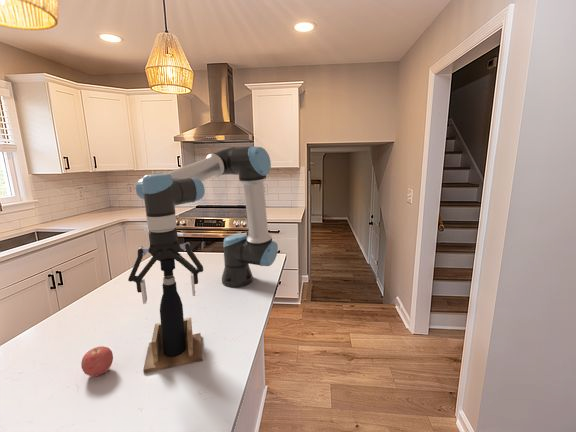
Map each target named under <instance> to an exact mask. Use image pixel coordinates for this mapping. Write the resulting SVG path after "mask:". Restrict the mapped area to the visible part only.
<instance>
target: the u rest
mask: <svg viewBox="0 0 576 432" xmlns="http://www.w3.org/2000/svg"><path fill="white" fill-rule="evenodd" d="M192 324H193V322H192V317H188V318H187V317H186V318H184V332H185V346H186V348H185V351H184V352H183V353H182V354H180V355H178V356H175V357H167V356H165V355H164V352H163V341H162V330H161V322H158V323H156V322H155V323H154V327H153V333H152V336H151V341H150V342H149V343H148V346H147V351H146V356H145V360H144V365H143V370H142V371H143V374H148V373H153V372H156V371H161V370H165V369H166V370H167V369H171V368H174V367H175V368H177V367H178V366H185V365H189V364H194V363H198V362H202V361H203V352H202V351H203V350H202V348H203V347H202V335H201V334H202V333H201V332H199V333H193V325H192Z"/></svg>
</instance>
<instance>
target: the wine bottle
mask: <svg viewBox="0 0 576 432" xmlns="http://www.w3.org/2000/svg"><path fill="white" fill-rule="evenodd" d="M175 261H176V260H175V259H171V260H161V262H160V261H159V263H160V270H161V271H162V272H163V279H162V296H161V298H160V299H161V300H160V303H159V317H160V318H159V319H160V323H161V330H162V341H163V352H164V355H165V356H167V357H175V356H178V355H180V354H182V353H183V352H184V351H185V348H186V346H185V332H184V319H185V318H184V307H183V306H184V305H183V302H182V299H181V297H180V295H179V292H178V289H177V282H176V277H175V276H174V270H175V269H176V263H175Z"/></svg>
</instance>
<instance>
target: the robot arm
mask: <svg viewBox="0 0 576 432" xmlns="http://www.w3.org/2000/svg"><path fill="white" fill-rule="evenodd" d="M271 163H272V162H271V158H270V154H269V153H268V151H267V150H266V149H265V148H263V147H262V146H255V145H254V146H253V145H252V146H233V147H228V148H223V149H221V150H218V151H216V152H212V153H209V154H208V155H207V156H206V157H205V158H204V159H201V160H199V161H196V162H193V163H190V164H188V165H185V166H181V167H179V168H177V169H174V170H171V171H169V172H165V173H155V174H151V173H150V174H145V175H144V176H143V177H142V178H140V179H139V180H138V181H137V182H136V184H135V192H136V194H137V195H136V196H138V198H140V199H141V200H143V201H144V207H145V214H146V215H145V216H146V217H145V218H146V225H147V229H148V230H149V231H148V233H147V234H148V239H149V240H148V241H149V247H144V246H139V248H138V250H137V258H136V261H135V262H134V265H133V266H132V270H131V272H130V274H129V276H128V279H127V280H128V282H134V283H136V285H135V286H136V292H137V293H138V294H139V293H141V297H142V304H143V305H145V304H147V301H148V296H147V295H148V294H147V288H146V286H147V285H146V280H145V278H144V277H145V276H146V274H147V273H148V272H149V271H150V269H151V268H152V267H153V265H154V264H155V263H156V262H157V261H158V262H159V263H160V262H161V260H171V259H175V261H176V262H178V263H180V264H181V266H183V267H184V268H185V269H186V270H188V271H189V272H190V280H191V283H190V284H191V292H192V293H191V294H192V297H196V289H195V288H196V287H195V285H198V284H199V276H198V275H199V274H200V273H203V272H204V266H203V264H202V263H201V261H200V260H199V259H198V257H197V255H196V254H195V252H193V250H192V248H191V243H190V242H189V241H186V242H185V243H181V244H180V243H179V238H178V229H177V228H176V227H177V216H176V206H179V205H184V204H189V203H195V202H198V201H200V200H202V199H203V197H204V195H205V189H206V188H205V185H204V183H203V181H207V180H208V179H211V178H212V177H215V178H216V177H217V178H218V177H220V176H224V175H225V176H226V175H237V176H238V178H239V179H238V180H239V182H241V184H243V185H242V186H243V191H244V200H245V209H246V217H247V218H246V219H247V226H248V227H247V229H248V234H249V235H248V234H247V233H239V234H232V235H229V236H226V237H225V238H224V239H223V247H222V248H223V261H224V269H223V272H222V275H221V284H222V285H223V286H225V287H228V288H229V287H230V288H239V287H245V286H248V285H250V284H251V283H252V282H253V281H254V278H253V277H254V275H253V273H252V271H251V268H250V265H255V266H260V267H271V266H272V265H273V264H274V263H275V261H276V258H277V255H278V249H279V247H278V243H277V241H273V237H272V234H270V233H269V227H268V219H267V218H268V217H267V206H266V198H265V197H266V196H265V187H264V182H265V180H266V179H267V175H269V173H271V172H270V171H271V168H272V165H271ZM181 249H182V250H183V251H185V252H186V253H187V256H188V257H189V259H191V261H192V263H193V264H194V265H195V266H194V265H193V264H192V263H190V261H188V260H187V259H186V258H185V257H184V256H183V255H181V253H179V251H181ZM147 253H148V254H150V255H151V256H152V257H151V258H150V259H149V261H148V262H147V263H146V264H145V266H144V267H143V269H141V271H140V272H139V274H138V275H136V274H137V272H138V269H139V268H140V264H141V263H142V259H143V257H145V256H146V255H147ZM249 264H250V265H249Z"/></svg>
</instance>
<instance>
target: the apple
mask: <svg viewBox="0 0 576 432" xmlns="http://www.w3.org/2000/svg"><path fill="white" fill-rule="evenodd" d="M113 361H114V355H113V351H112V350H111V348H109V347H107V346H101V345H100V346H97V347H93V348H91V349H90V350H88V351H87V352H86V353H85V354H84V355H83V357H82V358H81V362H80V363H81V364H80V365H81V370H82V371H83V373H84V375H87V376H89V377H99V376H102V375H103V374H105V373H107V371H108V370H109V369H110V368H111V366H112V364H113Z"/></svg>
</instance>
